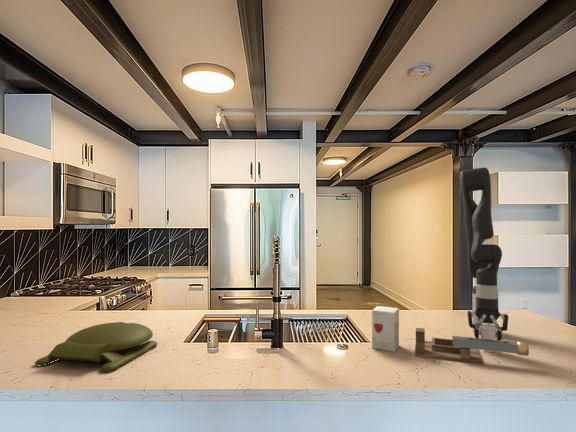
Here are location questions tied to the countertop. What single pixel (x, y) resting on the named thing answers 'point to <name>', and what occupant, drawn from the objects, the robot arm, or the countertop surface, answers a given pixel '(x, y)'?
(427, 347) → the holder
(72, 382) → the countertop surface
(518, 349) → the bar
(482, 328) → the smoothie
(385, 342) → the supplement box
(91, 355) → the spaceship
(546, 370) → the countertop surface
